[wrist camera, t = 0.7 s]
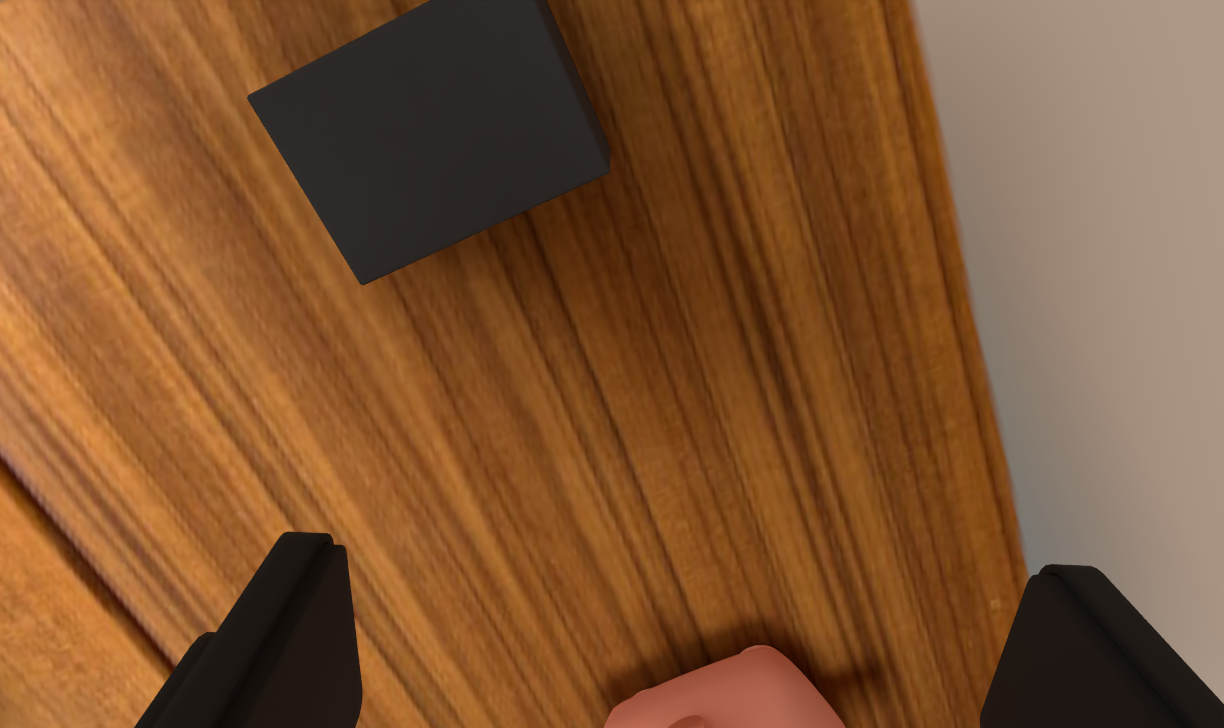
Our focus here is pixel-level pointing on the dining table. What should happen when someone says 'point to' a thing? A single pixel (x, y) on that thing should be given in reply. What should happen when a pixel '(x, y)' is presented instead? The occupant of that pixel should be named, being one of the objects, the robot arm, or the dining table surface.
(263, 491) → the dining table surface
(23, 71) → the dining table surface
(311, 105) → the black block
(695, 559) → the dining table surface
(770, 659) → the teapot
